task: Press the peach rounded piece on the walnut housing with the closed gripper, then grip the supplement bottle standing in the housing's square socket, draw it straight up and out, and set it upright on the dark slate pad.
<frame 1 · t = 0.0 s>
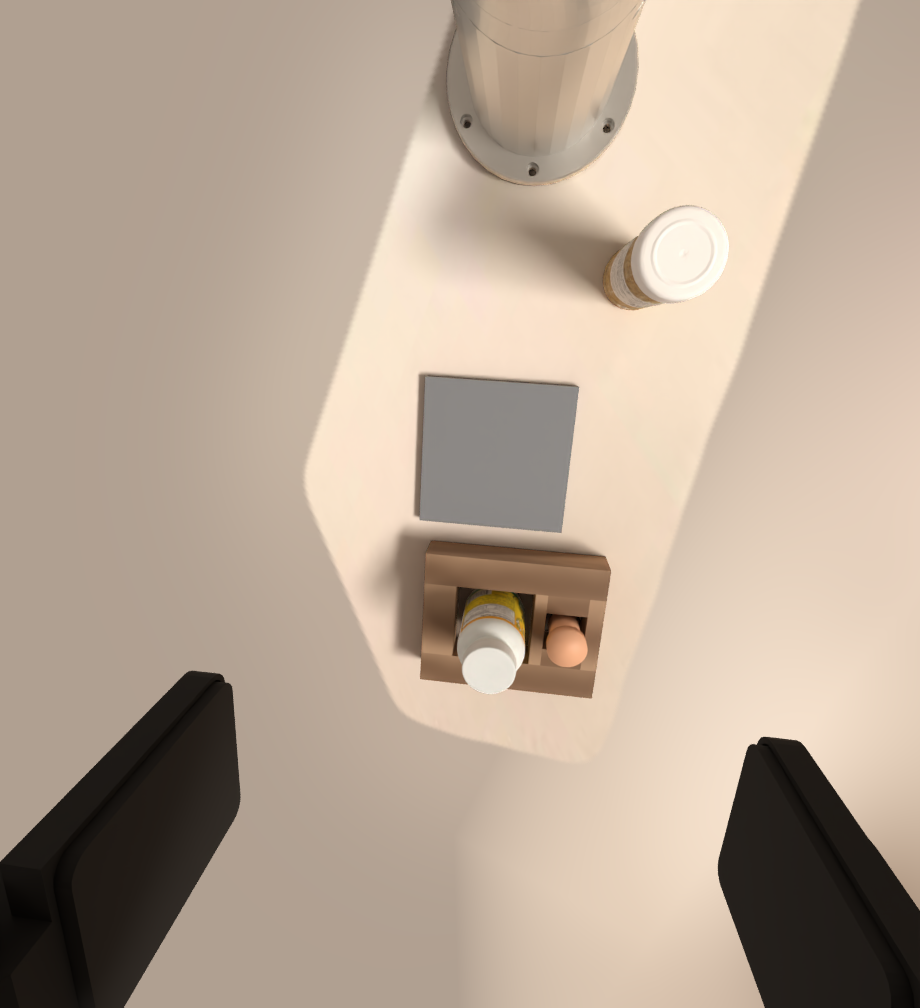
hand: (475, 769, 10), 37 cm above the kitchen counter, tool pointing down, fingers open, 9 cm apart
peach rounded piece: (565, 636, 46), point 3 cm above the kitchen counter, slide at 0.0 cm
housing: (494, 609, 50), on the kitchen counter
pad: (495, 455, 46), on the kitchen counter
supplement bottle: (494, 608, 50), resting in housing
sprinkles bottle: (632, 278, 41), on the kitchen counter
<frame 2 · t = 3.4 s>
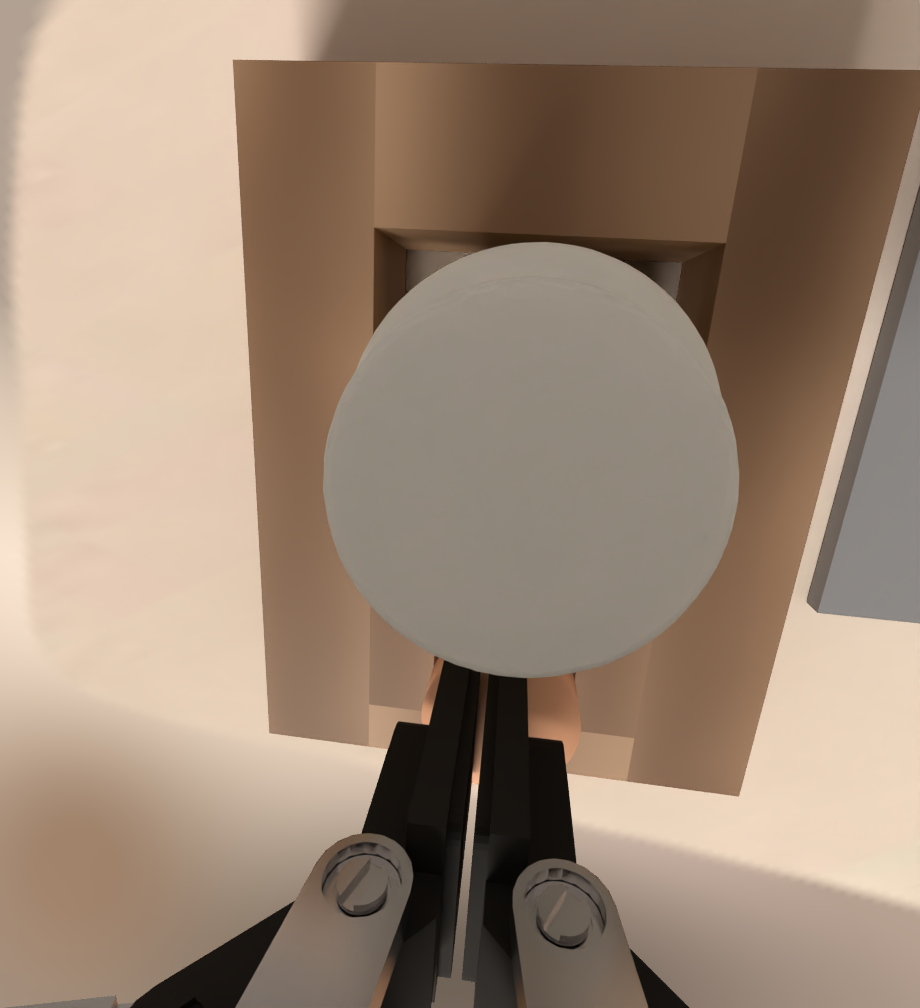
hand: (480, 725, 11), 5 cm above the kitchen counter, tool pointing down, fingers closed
peach rounded piece: (503, 667, 13), point 3 cm above the kitchen counter, slide at 0.3 cm, touching gripper
housing: (528, 394, 14), on the kitchen counter
supplement bottle: (528, 393, 15), resting in housing
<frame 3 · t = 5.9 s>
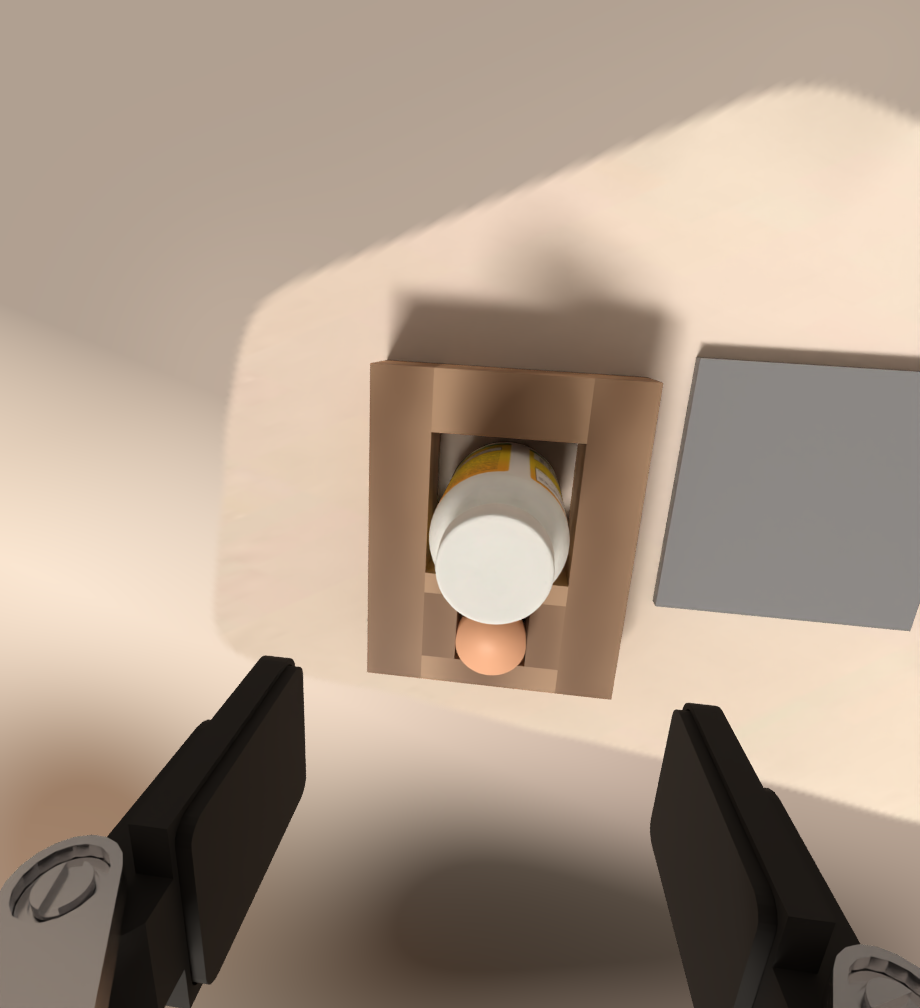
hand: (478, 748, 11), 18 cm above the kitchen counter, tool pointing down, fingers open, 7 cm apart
peach rounded piece: (492, 623, 27), point 2 cm above the kitchen counter, slide at 1.3 cm
housing: (503, 493, 27), on the kitchen counter
pad: (804, 497, 26), on the kitchen counter
supplement bottle: (503, 491, 28), resting in housing
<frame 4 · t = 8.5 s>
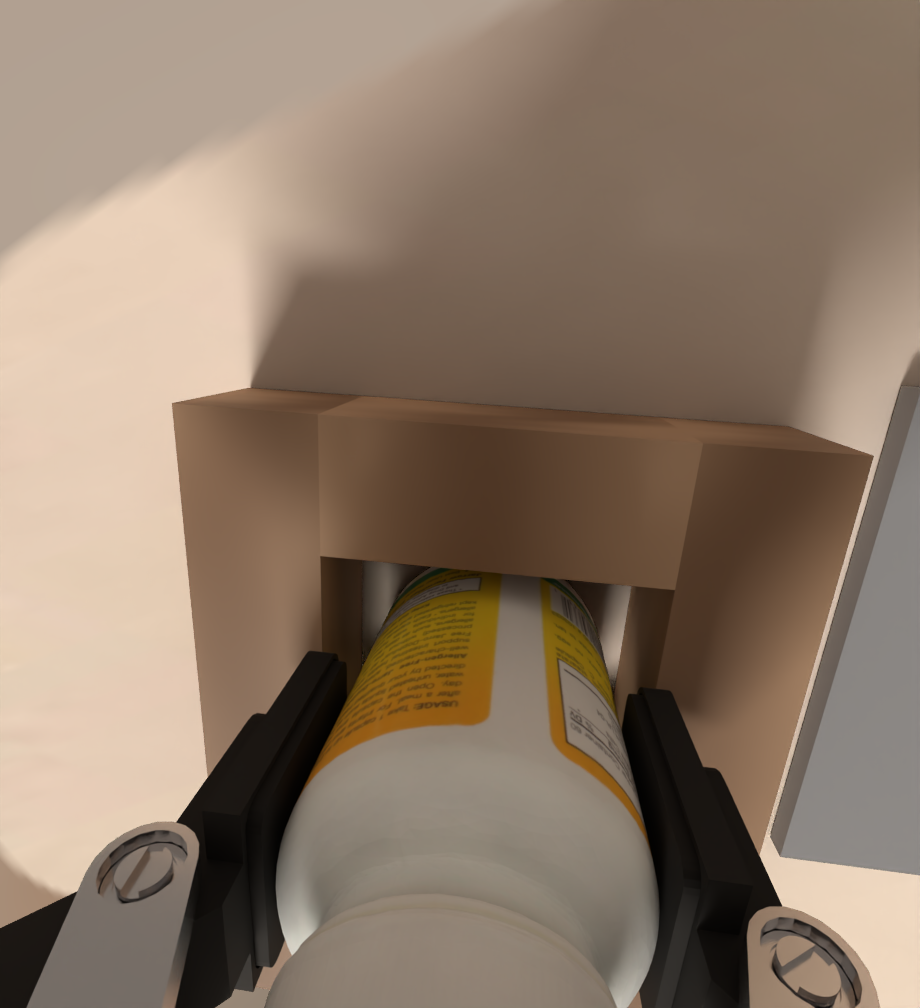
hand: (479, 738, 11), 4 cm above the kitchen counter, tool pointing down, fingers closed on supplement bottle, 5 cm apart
housing: (488, 643, 14), on the kitchen counter
supplement bottle: (489, 638, 14), resting in housing, touching gripper
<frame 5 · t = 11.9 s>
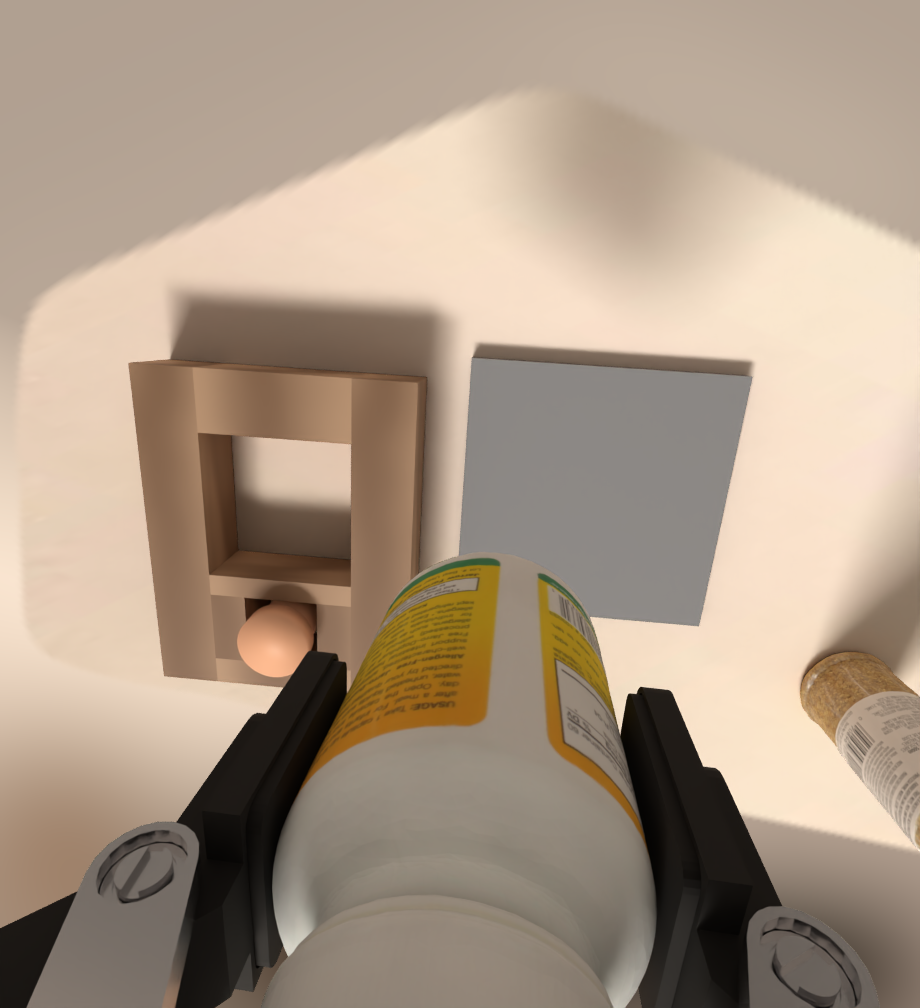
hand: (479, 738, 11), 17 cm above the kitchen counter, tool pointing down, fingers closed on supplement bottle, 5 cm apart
peach rounded piece: (287, 624, 27), point 2 cm above the kitchen counter, slide at 1.3 cm
housing: (300, 493, 27), on the kitchen counter
pad: (590, 496, 26), on the kitchen counter
supplement bottle: (486, 638, 14), point 13 cm above the kitchen counter, touching gripper
sprinkles bottle: (840, 683, 29), on the kitchen counter
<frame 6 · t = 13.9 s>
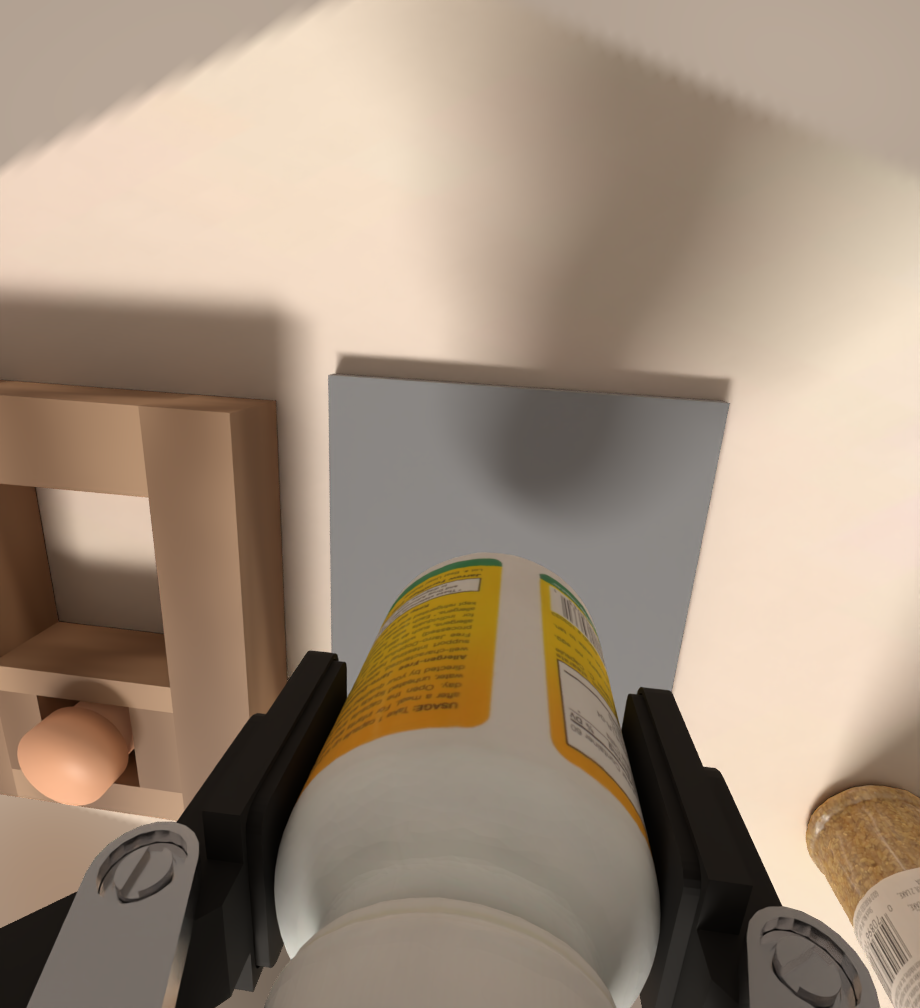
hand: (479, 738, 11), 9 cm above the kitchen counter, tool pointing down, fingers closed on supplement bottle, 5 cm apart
peach rounded piece: (105, 726, 20), point 2 cm above the kitchen counter, slide at 1.3 cm
housing: (126, 552, 21), on the kitchen counter
pad: (506, 564, 19), on the kitchen counter
supplement bottle: (488, 639, 14), point 5 cm above the kitchen counter, touching gripper
sprinkles bottle: (863, 823, 21), on the kitchen counter
when the fingers open (5 cm above the kitchen counter, at t = 15.4 s): supplement bottle drops 1 cm, resting on pad.
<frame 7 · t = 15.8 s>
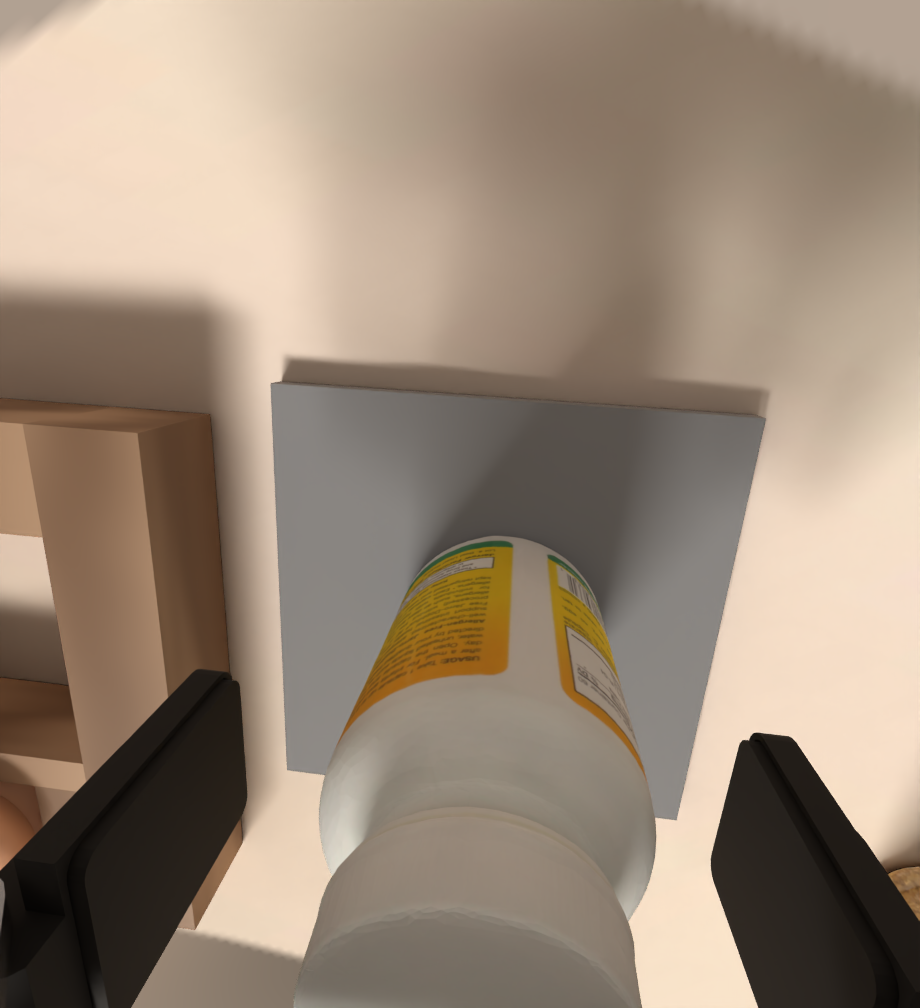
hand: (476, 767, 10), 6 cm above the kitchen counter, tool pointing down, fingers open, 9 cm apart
peach rounded piece: (14, 802, 17), point 2 cm above the kitchen counter, slide at 1.3 cm
housing: (40, 593, 17), on the kitchen counter
pad: (491, 610, 16), on the kitchen counter
supplement bottle: (498, 617, 15), resting on pad
sprinkles bottle: (911, 906, 18), on the kitchen counter
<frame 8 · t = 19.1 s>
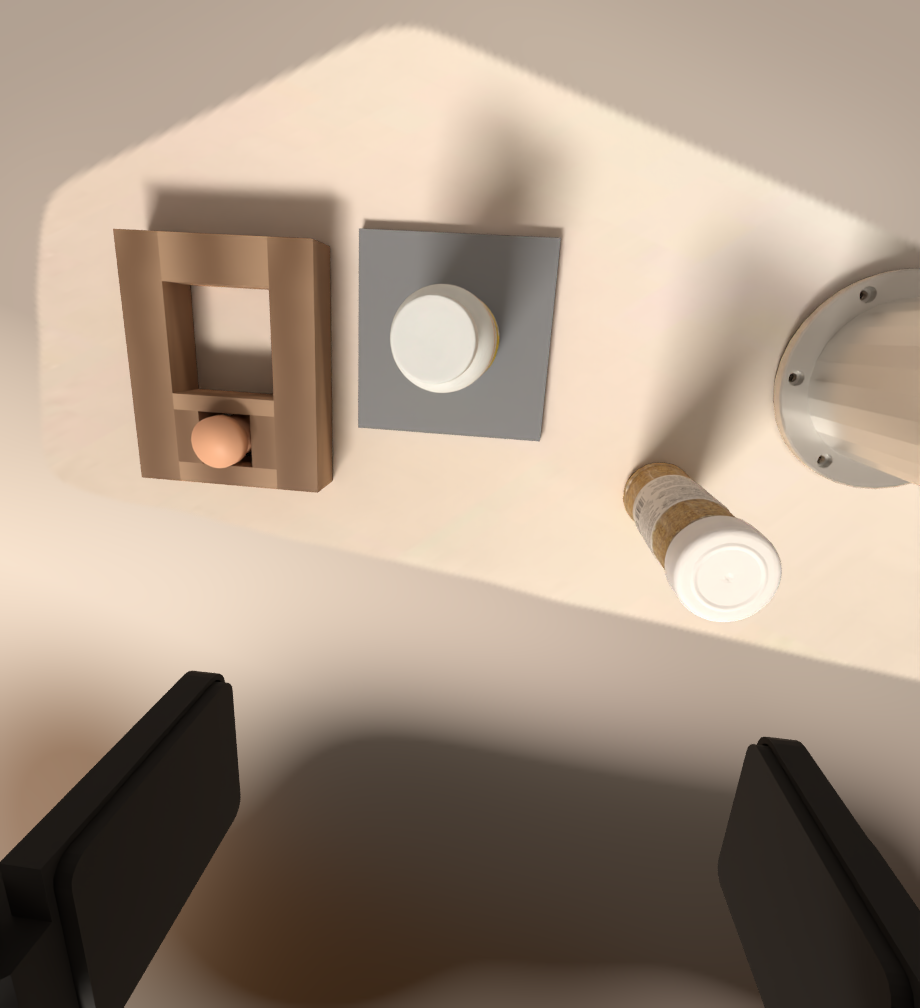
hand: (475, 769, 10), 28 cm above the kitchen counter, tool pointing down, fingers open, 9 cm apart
peach rounded piece: (231, 437, 36), point 2 cm above the kitchen counter, slide at 1.3 cm
housing: (242, 341, 37), on the kitchen counter
pad: (454, 338, 35), on the kitchen counter
supplement bottle: (456, 339, 35), resting on pad
sprinkles bottle: (655, 492, 37), on the kitchen counter
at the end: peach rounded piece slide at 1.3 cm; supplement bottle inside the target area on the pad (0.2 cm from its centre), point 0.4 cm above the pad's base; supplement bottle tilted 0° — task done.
